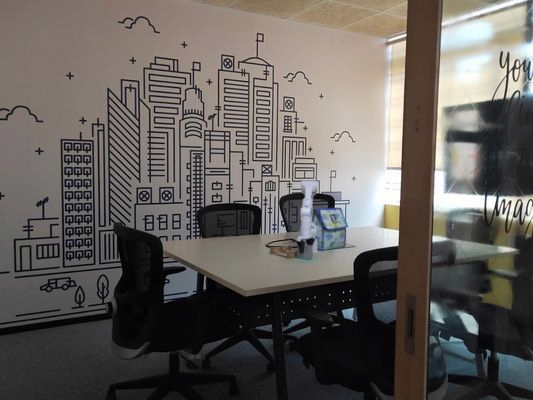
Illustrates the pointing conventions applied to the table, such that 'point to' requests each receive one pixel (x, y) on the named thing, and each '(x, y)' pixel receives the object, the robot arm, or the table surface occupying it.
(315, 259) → the teal mat
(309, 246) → the gray rectangular block
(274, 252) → the walnut rack
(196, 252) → the table surface
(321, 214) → the lunch bag
